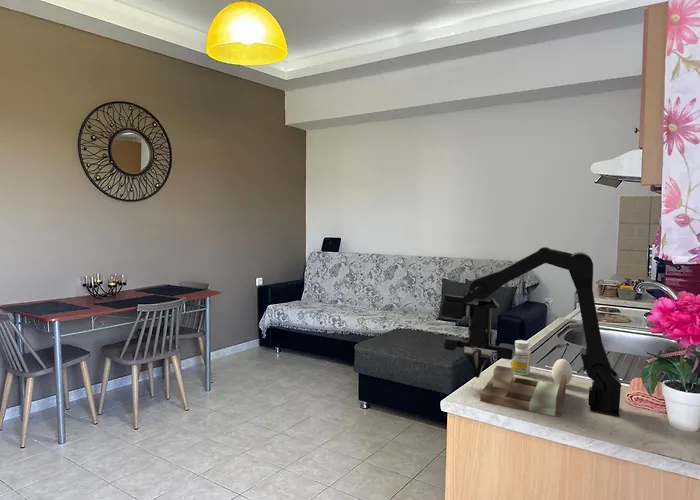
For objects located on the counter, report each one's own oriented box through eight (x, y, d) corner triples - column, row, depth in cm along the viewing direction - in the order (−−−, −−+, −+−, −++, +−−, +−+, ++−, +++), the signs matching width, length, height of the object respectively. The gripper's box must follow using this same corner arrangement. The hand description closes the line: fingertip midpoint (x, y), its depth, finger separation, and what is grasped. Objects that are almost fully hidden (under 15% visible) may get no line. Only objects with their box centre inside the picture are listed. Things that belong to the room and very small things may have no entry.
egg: (572, 384, 137) (573, 358, 136) (570, 390, 132) (572, 363, 132) (552, 380, 140) (553, 355, 139) (550, 386, 135) (551, 360, 134)
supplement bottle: (518, 368, 150) (520, 338, 149) (533, 373, 145) (535, 342, 144) (507, 371, 147) (508, 340, 146) (521, 376, 142) (523, 344, 142)
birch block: (513, 384, 130) (513, 368, 130) (510, 389, 126) (511, 373, 126) (496, 381, 132) (497, 365, 132) (492, 386, 128) (493, 370, 128)
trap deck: (565, 392, 130) (566, 375, 130) (559, 417, 114) (560, 397, 114) (494, 379, 139) (495, 363, 139) (480, 400, 123) (480, 381, 123)
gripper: (520, 321, 134) (517, 375, 135) (455, 313, 142) (452, 363, 144) (513, 329, 124) (510, 387, 125) (443, 320, 133) (441, 374, 134)
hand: (477, 377), depth 132 cm, fingers closed
